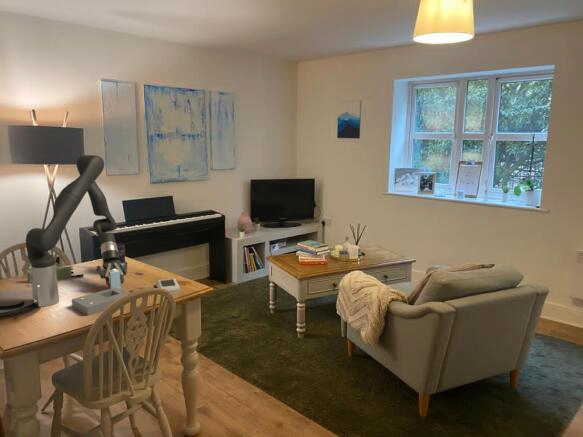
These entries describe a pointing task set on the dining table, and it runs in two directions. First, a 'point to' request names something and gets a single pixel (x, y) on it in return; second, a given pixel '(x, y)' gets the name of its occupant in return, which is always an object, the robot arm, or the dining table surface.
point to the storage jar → (121, 254)
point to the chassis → (97, 300)
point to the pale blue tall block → (114, 278)
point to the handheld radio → (58, 274)
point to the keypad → (169, 285)
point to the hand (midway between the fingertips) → (115, 283)
